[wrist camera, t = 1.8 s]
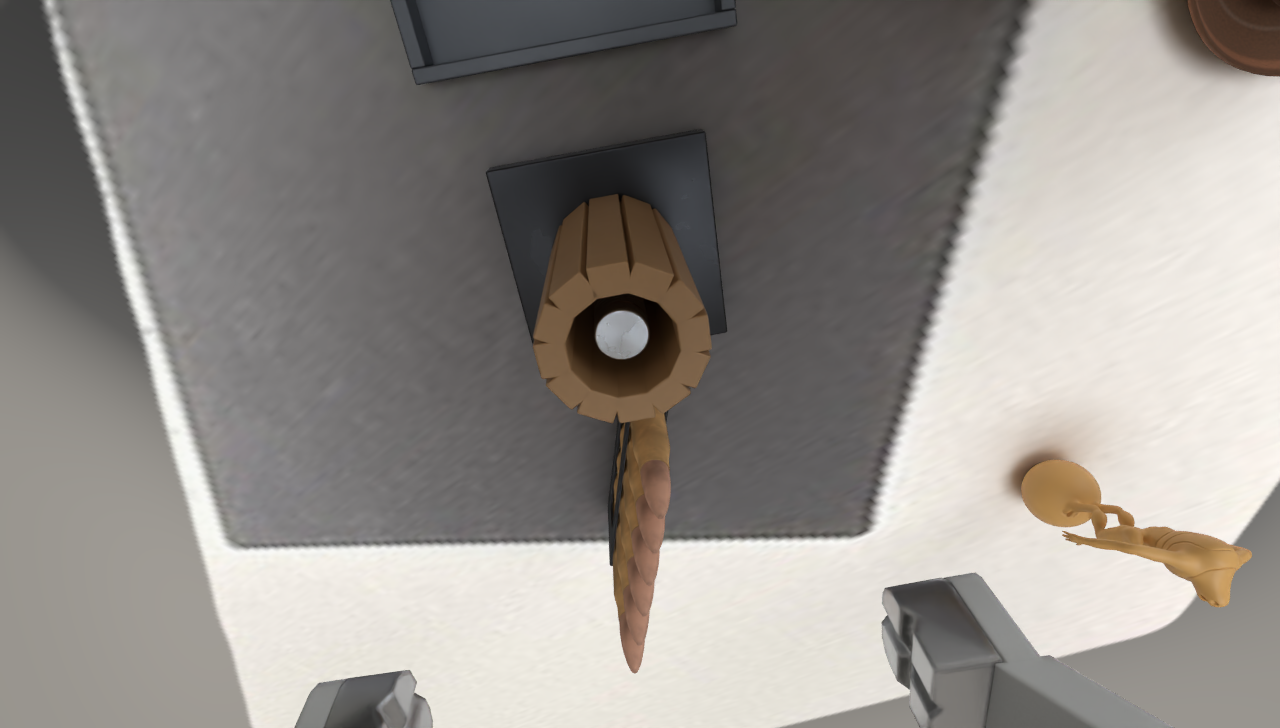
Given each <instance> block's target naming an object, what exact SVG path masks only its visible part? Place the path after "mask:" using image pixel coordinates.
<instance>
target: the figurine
mask: <svg viewBox="0 0 1280 728" xmlns="http://www.w3.org/2000/svg"><path fill="white" fill-rule="evenodd" d="M1021 493H1022V498H1023V501H1024V503H1025V505H1026V507H1027V508H1028V509H1029V511H1030V512H1031V513H1032V514H1033V515H1034V516H1035V517H1037V518H1038V519H1040V520H1041V521H1043V522H1045V523H1047V524H1050V525H1053V526H1058V527H1073V526H1078V525H1081V524H1083V523H1085V522H1087V521H1089V520H1090V519H1091V520H1092V523H1093V526H1094V529H1095V534H1096V537H1097V539H1095V538H1085V537H1081V536H1078V535H1075V534H1070V533H1068V532H1065V531H1062V532H1064V533H1066V534H1067V535H1064V534H1063V535H1062V536H1064V537H1066V538H1069V539H1066V540H1068V541H1071V542H1075V543H1077V544H1076V545H1081V544H1085V545H1089V546H1092V547H1096V548H1100V549H1107V550H1117V551H1121V552H1124V553H1128V554H1134V555H1138V556H1141V557H1144V558H1147V559H1150V560H1153V561H1157V562H1162V563H1164V565H1165V566H1166V568H1167V569H1168V570H1169V571H1171V572H1172V573H1173V574H1175V575H1177V576H1179V577H1181V578H1184V579H1186V580H1188V581H1191V582H1192V584H1193V586H1194V588H1195V590H1196V592H1197V595H1198V596H1199V598H1200V599H1201V600H1203V601H1207V602H1208V603H1209V604H1210V605H1211V606H1214V607H1224V606H1226V605H1228V603H1229V600H1230V587H1231V581H1232V578H1233V576H1234V573H1235V571H1236V570H1238V569H1239V568H1240V567H1241V566H1242V564H1244V563H1246V562H1247V561H1248V560H1249V559H1250V558H1251V557H1252V554H1251V552H1250V551H1249V550H1248V549H1245V548H1242V547H1237V546H1234V545H1229V544H1227V543H1225V542H1224V541H1222V540H1219V539H1217V538H1214V537H1211V536H1208V535H1204V534H1199V533H1193V532H1187V531H1175V530H1172V529H1171V528H1168V527H1148V528H1145V529H1140V528H1137V527H1134V518H1133V516H1132V515H1131V514H1130V513H1128V512H1126V511H1124V510H1123V509H1122V508H1121V507H1119V506H1113V505H1103V504H1100V503H1101V491H1100V488H1099V485H1098V483H1097V481H1096V480H1095V478H1094V477H1093V476H1092V475H1091V473H1089V472H1088V471H1087V470H1086V469H1085V468H1083V467H1081V466H1080V465H1078V464H1075V463H1073V462H1070V461H1065V460H1048V461H1044V462H1041V463H1039V464H1037V465H1035V466H1034V467H1032V468H1031V469H1030V470H1029V471H1028V472H1027V474H1026V475H1025V477H1024V479H1023V482H1022V486H1021ZM1105 513H1113V514H1117V515H1118V521H1119V523H1120V526H1118V527H1114V528H1108V529H1104V528H1105V526H1106V523H1107V516H1106V515H1105Z"/></svg>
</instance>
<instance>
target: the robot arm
mask: <svg viewBox="0 0 1280 728" xmlns="http://www.w3.org/2000/svg"><path fill="white" fill-rule="evenodd" d="M882 604H883V606H884V608H885V610H886V612H887V614H888V615H887V616H886V618H885V619H884V620H883V621H882V639H883V643H884V648H885V653H886V655H887V658H888V661H889V664H890V666H891V669H892V671H893V673H894V675H895V677H896V679H897V681H898V682H900V683H901V684H903V685H904V686H905V687H907V688H908V689H910V700H909V701H910V703H909V707H910V709H911V711H912V713H913V715H914V717H915V719H916V721H917V723H918V725H919V727H920V728H1174V727H1172V726H1170V725H1169V724H1167V723H1165V722H1164V721H1162V720H1160V719H1158V718H1157V717H1155V716H1153V715H1152V714H1150V713H1148V712H1146V711H1145V710H1143V709H1141V708H1139V707H1138V706H1136V705H1134V704H1133V703H1131V702H1129V701H1127V700H1126V699H1124V698H1122V697H1121V696H1119V695H1117V694H1116V693H1114V692H1112V691H1110V690H1109V689H1107V688H1105V687H1103V686H1102V685H1100V684H1098V683H1097V682H1095V681H1093V680H1091V679H1090V678H1088V677H1086V676H1085V675H1083V674H1081V673H1079V672H1078V671H1076V670H1074V669H1073V668H1071V667H1069V666H1067V665H1066V664H1064V663H1062V662H1061V661H1059V660H1057V659H1055V658H1054V657H1052V656H1050V655H1048V656H1040V655H1039V654H1038V653H1037V651H1036V650H1035V649H1034V647H1033V646H1032V645H1031V643H1030V642H1029V641H1028V639H1027V638H1026V637H1025V635H1024V634H1023V632H1022V631H1021V630H1020V628H1019V627H1018V626H1017V624H1016V623H1015V622H1014V620H1013V619H1012V618H1011V616H1010V615H1009V614H1008V612H1007V611H1006V609H1005V608H1004V607H1003V605H1002V604H1001V603H1000V601H999V600H998V599H997V597H996V596H995V595H994V593H993V592H992V590H991V589H990V588H989V586H988V585H987V584H986V582H985V581H984V580H983V578H982V577H981V576H979V575H978V574H976V573H969V574H964V575H958V576H952V577H946V578H936V579H931V580H926V581H920V582H915V583H909V584H904V585H898V586H893V587H888V588H885V589H884V591H883V595H882ZM416 684H417V681H416V680H415V678H414V676H413V675H412V673H411V671H410V670H405V671H397V672H390V673H383V674H376V675H369V676H362V677H355V678H347V679H341V680H335V681H329V682H322V683H318V684H317V686H316V687H315V688H314V689H313V690H312V691H311V692H310V694H309V696H308V698H307V701H306V703H305V705H304V707H303V710H302V712H301V714H300V716H299V719H298V721H297V723H296V725H295V728H433V720H432V715H431V710H430V707H429V705H428V703H427V701H426V699H425V698H423V697H421V696H419V695H417V694H416V693H414V691H415V687H416Z"/></svg>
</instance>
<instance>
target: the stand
mask: <svg viewBox="0 0 1280 728" xmlns="http://www.w3.org/2000/svg"><path fill="white" fill-rule="evenodd" d="M486 175H487V179H488V182H489V186H490V190H491V193H492V197H493V201H494V204H495V208H496V212H497V215H498V219H499V223H500V226H501V230H502V234H503V237H504V241H505V245H506V248H507V252H508V256H509V259H510V263H511V267H512V270H513V274H514V278H515V281H516V285H517V288H518V292H519V296H520V299H521V303H522V307H523V310H524V314H525V318H526V321H527V325H528V329H529V332H530V336H531V340H532V343H534V338H533V334H534V329H535V325H536V320H537V315H538V311H539V306H540V301H541V297H542V292H543V288H544V283H545V278H546V274H547V269H548V264H549V260H550V255H551V251H552V247H553V244H554V241H555V238H556V235H557V232H558V228H559V226H560V225H562V223H563V220H564V219H565V218H566V217H567V216H568V215H569V214H570V213H572V212H573V211H574V210H575V209H576V208H577V207H578V206H580V205H581V204H582V203H583V202H585V203H586V204H587V205H588V206H589V199H593V198H598V197H604V196H609V195H615V194H618V196H619V202H621V199H622V196H623V195H626V196H629V197H632V198H635V199H637V200H640V201H643V202H645V203H648V204H650V206H651V209H652V210H653V209H656V210H657V211H658V212H659V213H660V214H661V216H662V217H663V218H664V219H665V221H666V222H667V223H668V224H669V225H670V227H671V228H672V230H673V233H674V235H675V237H676V239H677V242H678V244H679V247H680V249H681V252H682V254H683V256H684V259H685V261H686V264H687V266H688V269H689V271H690V273H691V276H692V278H693V281H694V283H695V286H696V288H697V290H698V293H699V295H700V298H701V300H702V303H703V305H704V308H705V310H706V312H707V315H708V321H709V329H710V335H714V334H720V333H725V332H727V325H726V316H725V307H724V298H723V289H722V280H721V271H720V261H719V252H718V243H717V234H716V225H715V216H714V206H713V197H712V188H711V179H710V170H709V161H708V152H707V142H706V133H705V131H703V130H702V129H699V130H693V131H688V132H682V133H677V134H671V135H666V136H660V137H655V138H650V139H644V140H639V141H633V142H628V143H622V144H617V145H611V146H606V147H600V148H595V149H589V150H584V151H579V152H573V153H568V154H562V155H557V156H551V157H546V158H540V159H535V160H529V161H524V162H519V163H513V164H508V165H502V166H497V167H491V168H489V169H488V170H487V171H486ZM649 339H650V328H649V323H648V318H647V312H646V307H645V302H644V298H641V297H638V296H635V295H632V294H629V293H627V294H622V295H616V296H611V297H605V298H599V299H597V300H596V301H594V340H595V343H596V345H597V347H598V349H599V350H600V351H601V352H602V353H603V354H605V355H606V356H608V357H610V358H613V359H616V360H627V359H631V358H634V357H636V356H637V355H639V354H640V353H641V352H642V351H643V350H644V349H645V348H646V346H647V345H648V342H649Z"/></svg>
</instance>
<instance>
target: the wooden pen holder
mask: <svg viewBox="0 0 1280 728" xmlns="http://www.w3.org/2000/svg"><path fill="white" fill-rule="evenodd" d="M627 293H629V294H632V295H635V296H638V297H641V298H644V302H645V307H646V312H647V318H648V323H649V328H650V339H649V342H648V345H647V346H646V348H645V349H644V350H643V351H642V352H641V353H640V354H639V355H637V356H636V357H634V358H631V359H627V360H616V359H613V358H610V357H608V356H606V355H605V354H603V353H602V352H601V351H600V350H599V349H598V347H597V345H596V343H595V340H594V301H596V300H597V299H599V298H605V297H611V296H616V295H622V294H627ZM533 338H534V343H533V349H534V353H535V357H536V360H537V364H538V368H539V371H540V375H541V378H542V379H547V381H546V386H547V387H548V388H549V389H550V390H551V391H552V392H553V393H554V394H555V395H556V396H557V397H558V398H559V399H560V400H561V401H563V402H564V403H565V404H566V405H567V406H568V407H569V408H570V409H573V408H574V407H576V406H577V405H578V411H577V412H578V414H581V415H584V416H588V417H592V418H595V419H599V420H602V421H606V422H609V423H613V421H614V419H615V417H616V414H617V415H618V420H619V422H620V423H625V422H631V421H637V420H642V419H648V418H654V417H655V416H656V414H655V408H656V409H657V410H658V411H659V412H660V413H662V414H663V413H665V412H666V411H668V410H669V409H670V408H672V407H673V406H675V405H676V404H677V403H679V402H680V401H681V400H683V399H684V398H686V397H687V396H688V395H690V393H691V392H690V388H689V386H690V387H693V388H696V387H697V385H698V383H699V381H700V379H701V376H702V374H703V372H704V370H705V368H706V366H707V364H708V362H709V359H710V357H711V356H710V353H709V351H708V350H711V348H712V345H711V337H710V329H709V321H708V315H707V312H706V310H705V308H704V305H703V303H702V300H701V298H700V295H699V293H698V290H697V288H696V286H695V283H694V281H693V278H692V276H691V273H690V271H689V269H688V266H687V264H686V261H685V259H684V256H683V254H682V252H681V249H680V247H679V244H678V242H677V239H676V237H675V235H674V233H673V230H672V228H671V227H670V225H669V224H668V223H667V222H666V221H665V219H664V218H663V217H662V216H661V214H660V213H659V212H658V211H657V210H656V209H653V210H652V209H651V206H650V204H648V203H645V202H643V201H640V200H637V199H635V198H632V197H629V196H626V195H623V196H622V199H621V202H619V196H618V194H615V195H609V196H604V197H598V198H593V199H589V206H588V205H587V204H586V203H585V202H583V203H582V204H581V205H580V206H578V207H577V208H576V209H575V210H574V211H573V212H572V213H570V214H569V215H568V216H567V217H566V218H565V219H564V220H563V223H562V225H560V226H559V228H558V232H557V235H556V238H555V241H554V244H553V247H552V251H551V255H550V260H549V264H548V269H547V274H546V278H545V283H544V288H543V292H542V297H541V301H540V306H539V311H538V315H537V320H536V325H535V329H534V334H533Z"/></svg>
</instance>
